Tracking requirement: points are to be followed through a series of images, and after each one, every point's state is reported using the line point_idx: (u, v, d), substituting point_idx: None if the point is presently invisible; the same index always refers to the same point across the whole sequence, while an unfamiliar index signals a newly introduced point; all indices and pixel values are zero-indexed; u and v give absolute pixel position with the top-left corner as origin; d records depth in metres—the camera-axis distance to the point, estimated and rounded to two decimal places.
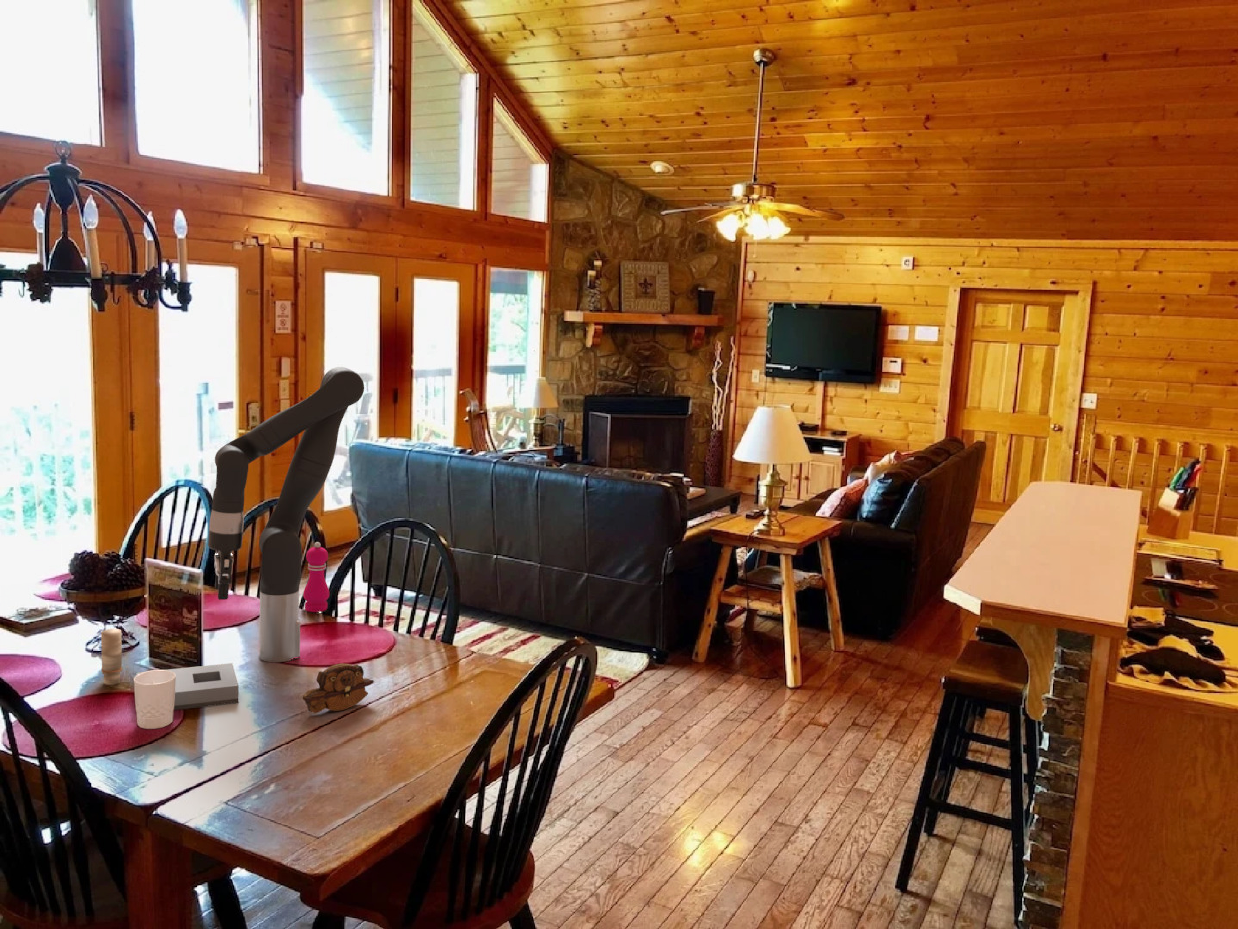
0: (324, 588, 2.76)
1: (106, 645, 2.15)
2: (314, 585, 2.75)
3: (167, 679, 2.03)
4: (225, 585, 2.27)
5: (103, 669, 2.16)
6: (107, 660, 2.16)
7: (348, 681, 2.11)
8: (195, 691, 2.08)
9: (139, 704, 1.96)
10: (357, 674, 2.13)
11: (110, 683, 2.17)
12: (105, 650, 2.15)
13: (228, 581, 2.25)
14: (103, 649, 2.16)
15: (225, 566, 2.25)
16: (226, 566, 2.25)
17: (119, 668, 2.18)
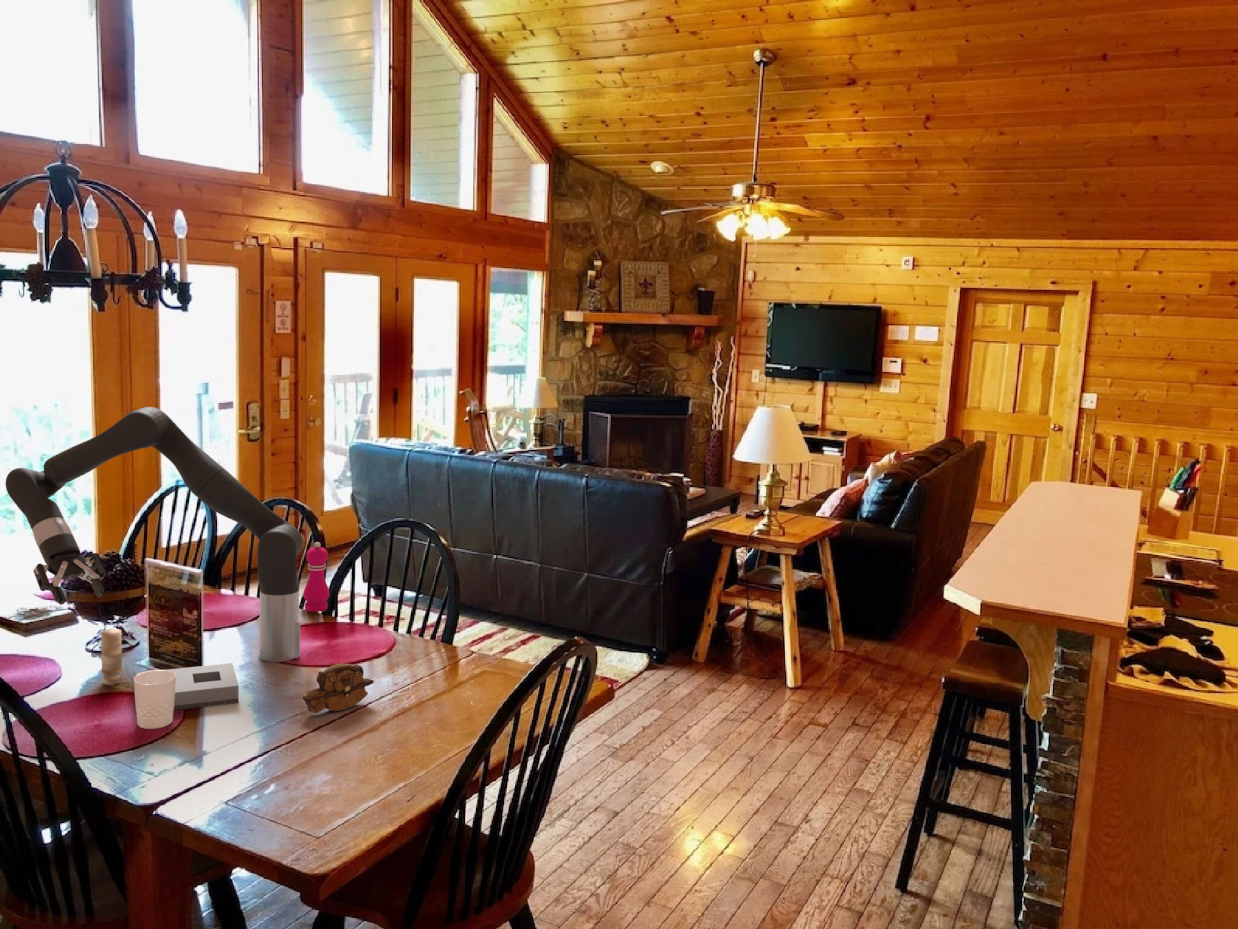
0: (324, 588, 2.76)
1: (106, 645, 2.15)
2: (314, 585, 2.75)
3: (167, 679, 2.03)
4: (52, 589, 2.18)
5: (103, 669, 2.16)
6: (107, 660, 2.16)
7: (348, 681, 2.11)
8: (195, 691, 2.08)
9: (139, 704, 1.96)
10: (357, 674, 2.13)
11: (110, 683, 2.17)
12: (105, 650, 2.15)
13: (43, 584, 2.17)
14: (103, 649, 2.16)
15: (36, 573, 2.19)
16: (37, 572, 2.18)
17: (119, 668, 2.18)
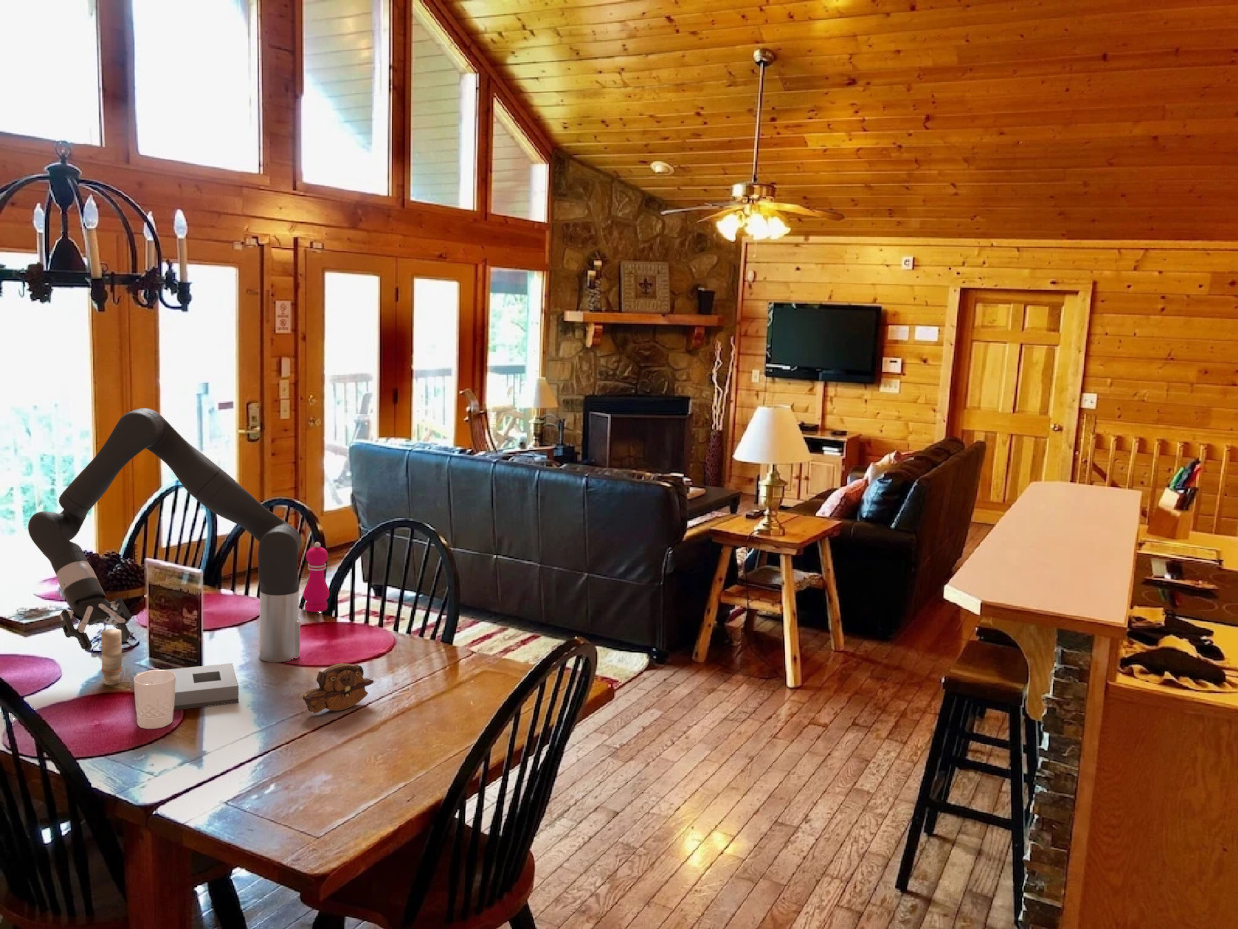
0: (324, 588, 2.76)
1: (106, 645, 2.15)
2: (314, 585, 2.75)
3: (167, 679, 2.03)
4: (78, 635, 2.14)
5: (103, 669, 2.16)
6: (107, 660, 2.16)
7: (348, 681, 2.11)
8: (195, 691, 2.08)
9: (139, 704, 1.96)
10: (357, 674, 2.13)
11: (110, 683, 2.17)
12: (105, 650, 2.15)
13: (68, 631, 2.13)
14: (103, 649, 2.16)
15: (62, 619, 2.15)
16: (62, 619, 2.15)
17: (119, 668, 2.18)
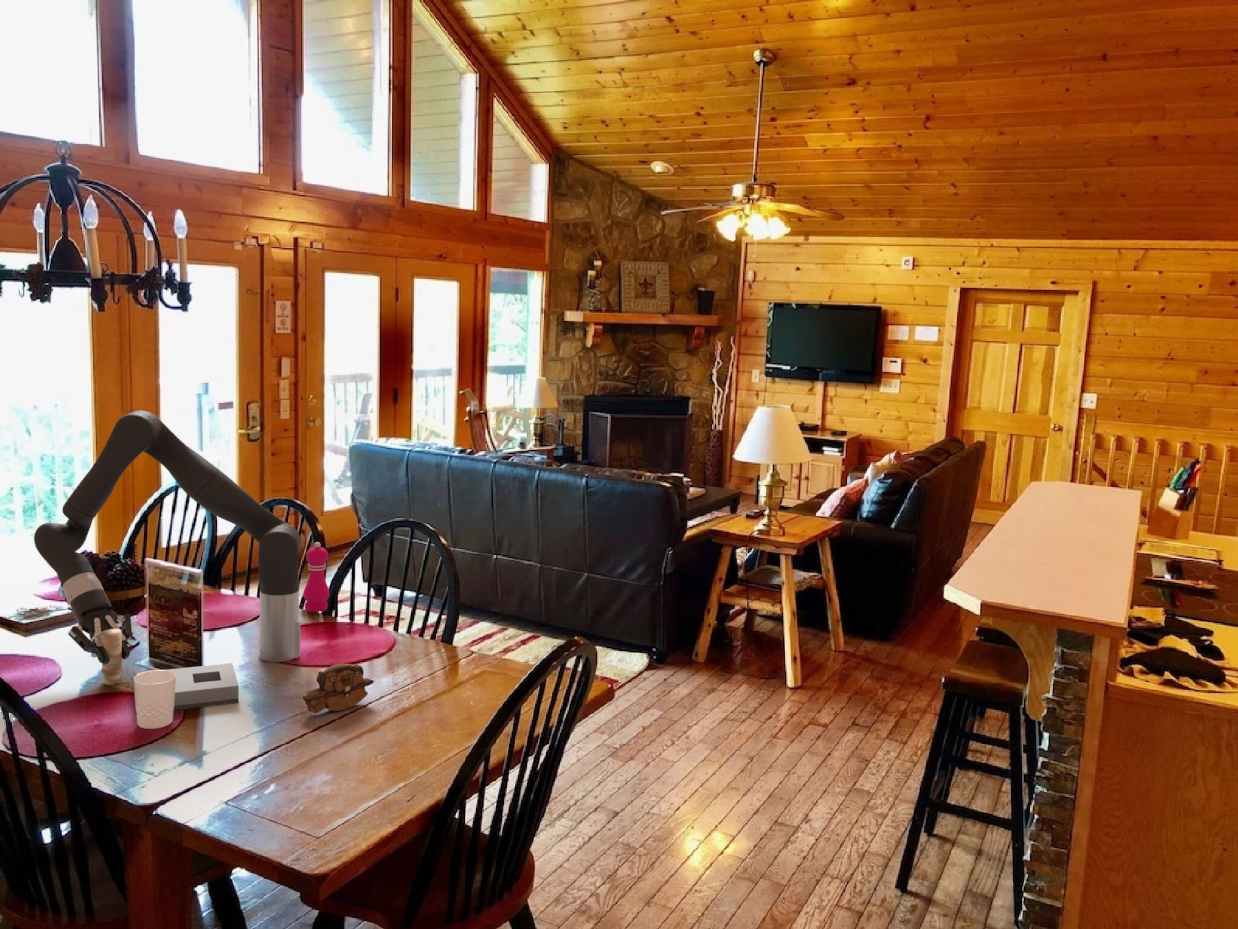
0: (324, 588, 2.76)
1: (106, 645, 2.15)
2: (314, 585, 2.75)
3: (167, 679, 2.03)
4: None
5: (103, 669, 2.16)
6: None
7: (348, 681, 2.11)
8: (195, 691, 2.08)
9: (139, 704, 1.96)
10: (357, 674, 2.13)
11: (110, 683, 2.17)
12: (106, 650, 2.15)
13: (86, 645, 2.13)
14: None
15: (74, 636, 2.14)
16: (74, 635, 2.14)
17: (119, 668, 2.18)
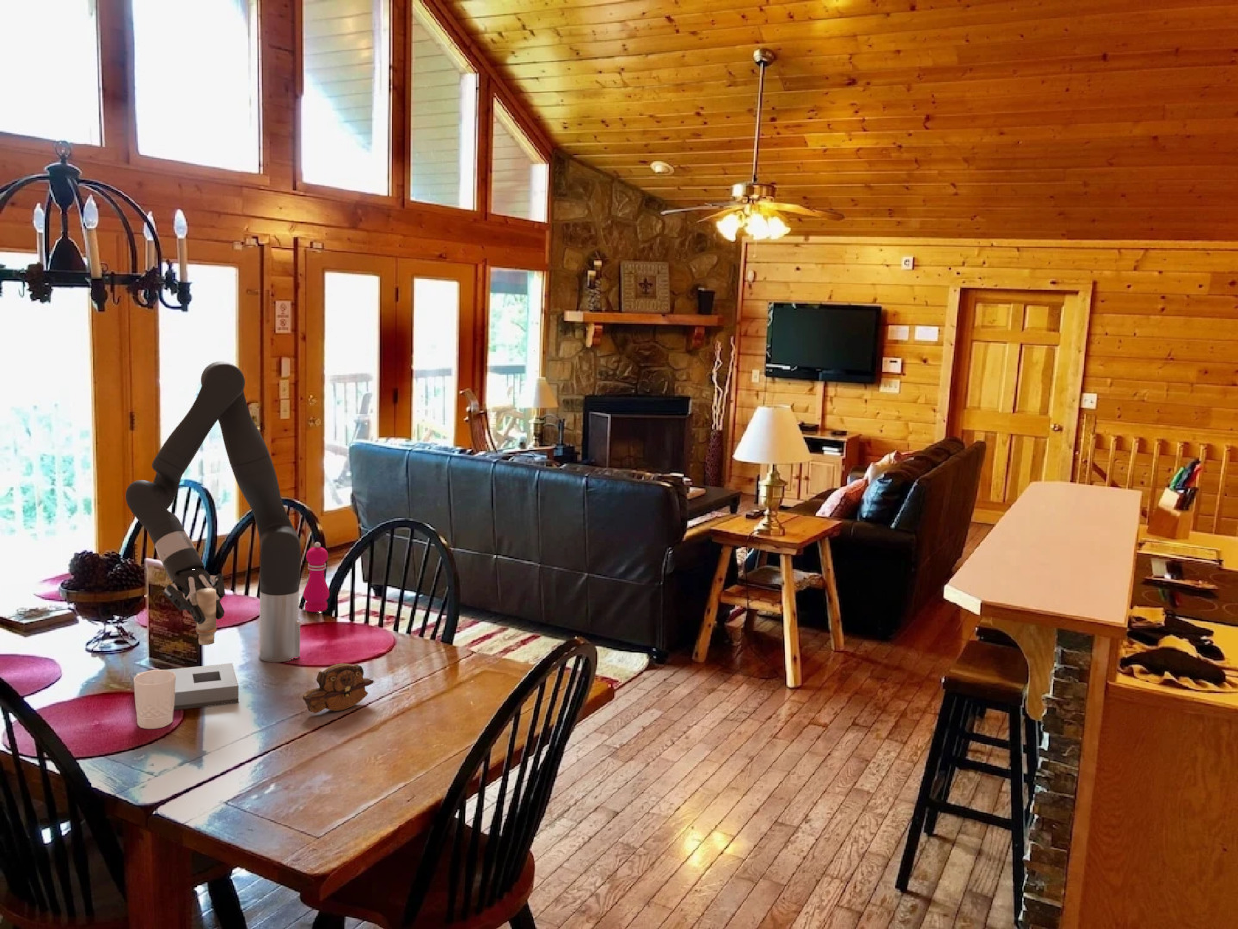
0: (324, 588, 2.76)
1: (201, 604, 2.11)
2: (314, 585, 2.75)
3: (167, 679, 2.03)
4: (192, 609, 2.10)
5: (198, 629, 2.12)
6: None
7: (348, 681, 2.11)
8: (195, 691, 2.08)
9: (139, 704, 1.96)
10: (357, 674, 2.13)
11: (205, 643, 2.13)
12: (201, 609, 2.11)
13: (182, 604, 2.09)
14: None
15: (169, 595, 2.09)
16: (169, 594, 2.09)
17: (214, 628, 2.13)
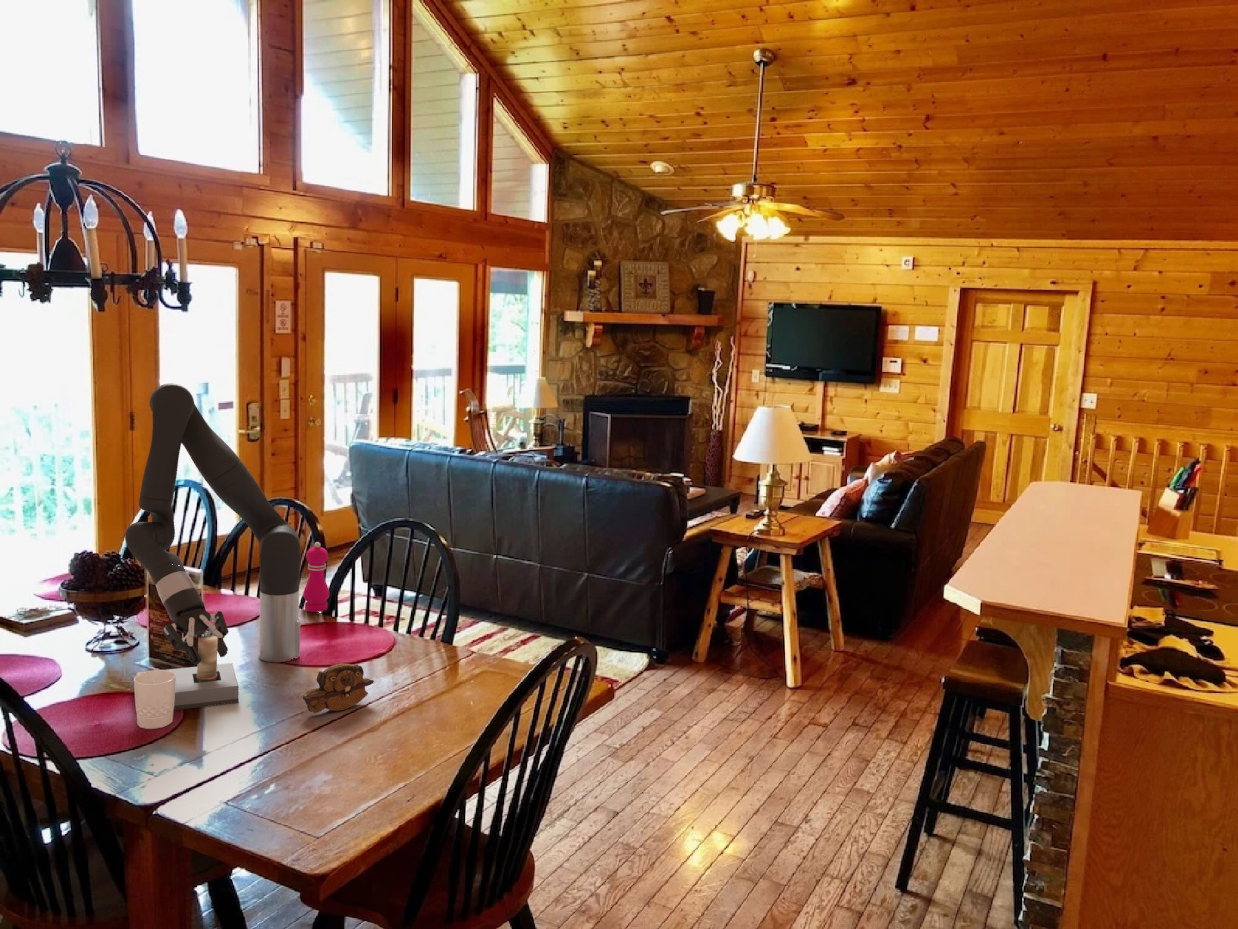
0: (324, 588, 2.76)
1: (203, 651, 2.12)
2: (314, 585, 2.75)
3: (167, 679, 2.03)
4: (187, 649, 2.11)
5: (199, 676, 2.14)
6: (203, 667, 2.13)
7: (348, 681, 2.11)
8: (195, 691, 2.08)
9: (139, 704, 1.96)
10: (357, 674, 2.13)
11: None
12: (202, 656, 2.13)
13: (178, 645, 2.10)
14: (200, 656, 2.13)
15: (167, 634, 2.11)
16: (167, 633, 2.10)
17: (214, 675, 2.15)
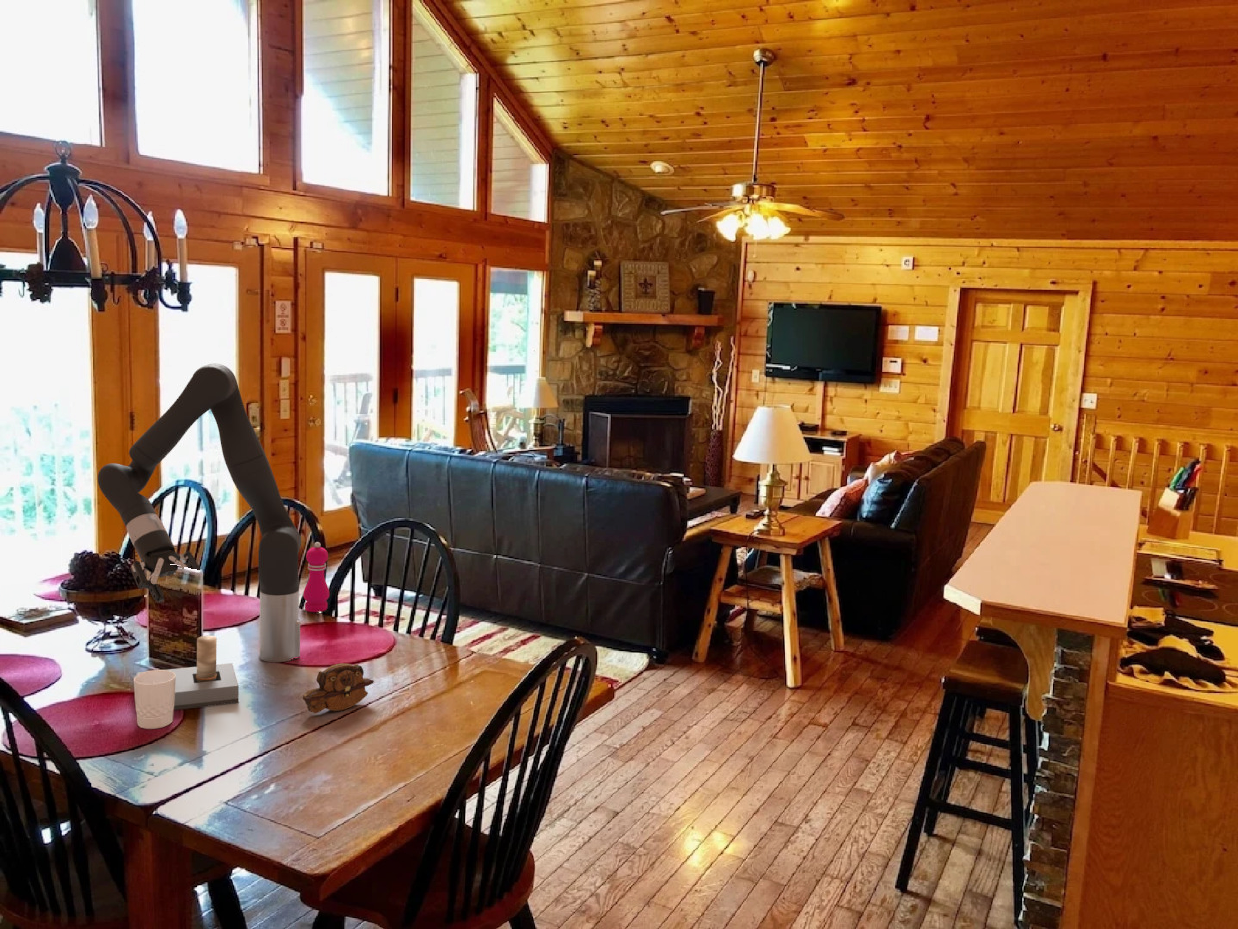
0: (324, 588, 2.76)
1: (202, 652, 2.12)
2: (314, 585, 2.75)
3: (167, 679, 2.03)
4: (150, 587, 2.15)
5: (198, 676, 2.14)
6: (203, 667, 2.13)
7: (348, 681, 2.11)
8: (195, 691, 2.08)
9: (139, 704, 1.96)
10: (357, 674, 2.13)
11: None
12: (201, 657, 2.13)
13: (141, 582, 2.13)
14: (199, 656, 2.13)
15: (134, 570, 2.15)
16: (134, 570, 2.15)
17: (214, 675, 2.15)
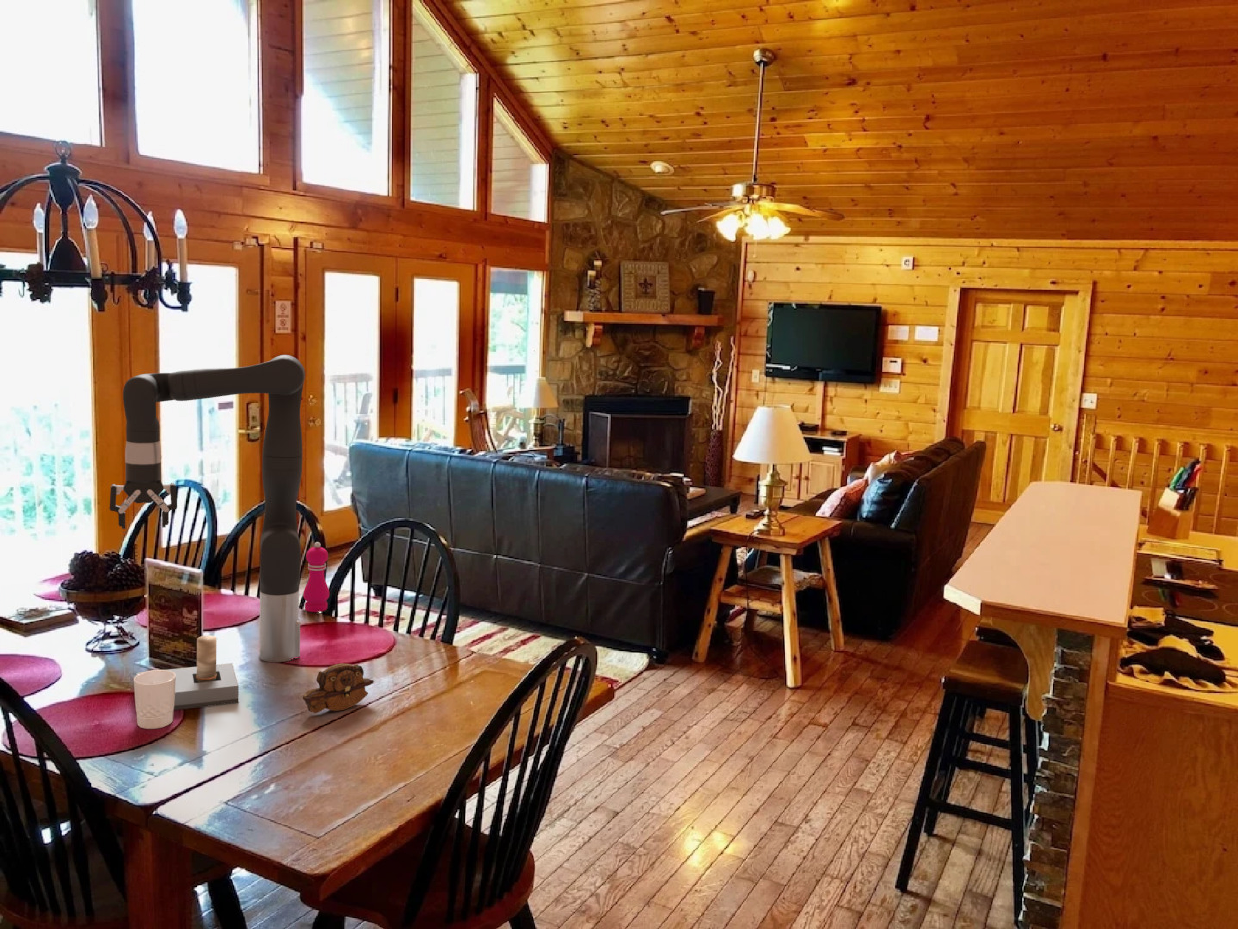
0: (324, 588, 2.76)
1: (202, 652, 2.12)
2: (314, 585, 2.75)
3: (167, 679, 2.03)
4: (118, 513, 2.24)
5: (198, 676, 2.14)
6: (203, 667, 2.13)
7: (348, 681, 2.11)
8: (195, 691, 2.08)
9: (139, 704, 1.96)
10: (357, 674, 2.13)
11: None
12: (201, 656, 2.13)
13: None
14: (199, 656, 2.13)
15: None
16: None
17: (214, 675, 2.15)
